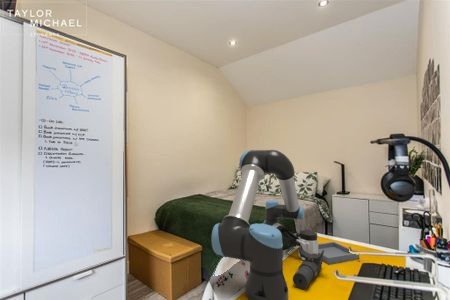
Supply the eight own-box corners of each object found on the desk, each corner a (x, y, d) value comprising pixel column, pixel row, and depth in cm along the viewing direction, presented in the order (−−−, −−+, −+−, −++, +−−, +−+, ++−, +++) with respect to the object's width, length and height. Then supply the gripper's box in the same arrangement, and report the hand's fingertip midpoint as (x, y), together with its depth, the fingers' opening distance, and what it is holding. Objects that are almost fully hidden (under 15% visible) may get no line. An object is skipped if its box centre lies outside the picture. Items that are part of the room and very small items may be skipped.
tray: (328, 264, 106) (328, 258, 106) (305, 251, 121) (305, 245, 121) (359, 259, 111) (359, 252, 111) (334, 247, 126) (334, 241, 126)
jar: (295, 254, 116) (296, 230, 117) (311, 253, 118) (311, 229, 118) (304, 262, 108) (305, 235, 108) (321, 261, 109) (321, 235, 109)
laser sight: (287, 285, 89) (287, 258, 90) (305, 263, 108) (304, 241, 108) (313, 294, 84) (313, 265, 84) (327, 269, 102) (327, 246, 102)
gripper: (291, 237, 132) (320, 253, 110) (269, 240, 128) (293, 256, 106) (291, 224, 133) (319, 237, 110) (269, 226, 129) (293, 240, 106)
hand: (307, 246), depth 108 cm, fingers closed
